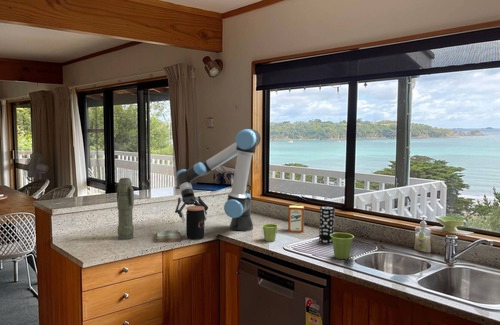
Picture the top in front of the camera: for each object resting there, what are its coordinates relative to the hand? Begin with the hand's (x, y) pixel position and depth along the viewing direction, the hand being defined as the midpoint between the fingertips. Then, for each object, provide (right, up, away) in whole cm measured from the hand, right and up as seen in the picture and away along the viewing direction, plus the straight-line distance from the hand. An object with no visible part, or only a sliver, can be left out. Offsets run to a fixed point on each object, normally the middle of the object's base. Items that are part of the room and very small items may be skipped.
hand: (194, 220), depth 241 cm
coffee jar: (0, -10, +2) cm, 10 cm away
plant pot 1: (+44, -11, -2) cm, 45 cm away
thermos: (-40, -10, -1) cm, 42 cm away
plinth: (-16, -10, -2) cm, 19 cm away
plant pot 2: (+79, -14, -33) cm, 87 cm away
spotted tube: (+76, -12, -6) cm, 77 cm away
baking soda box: (+62, -10, +20) cm, 65 cm away
